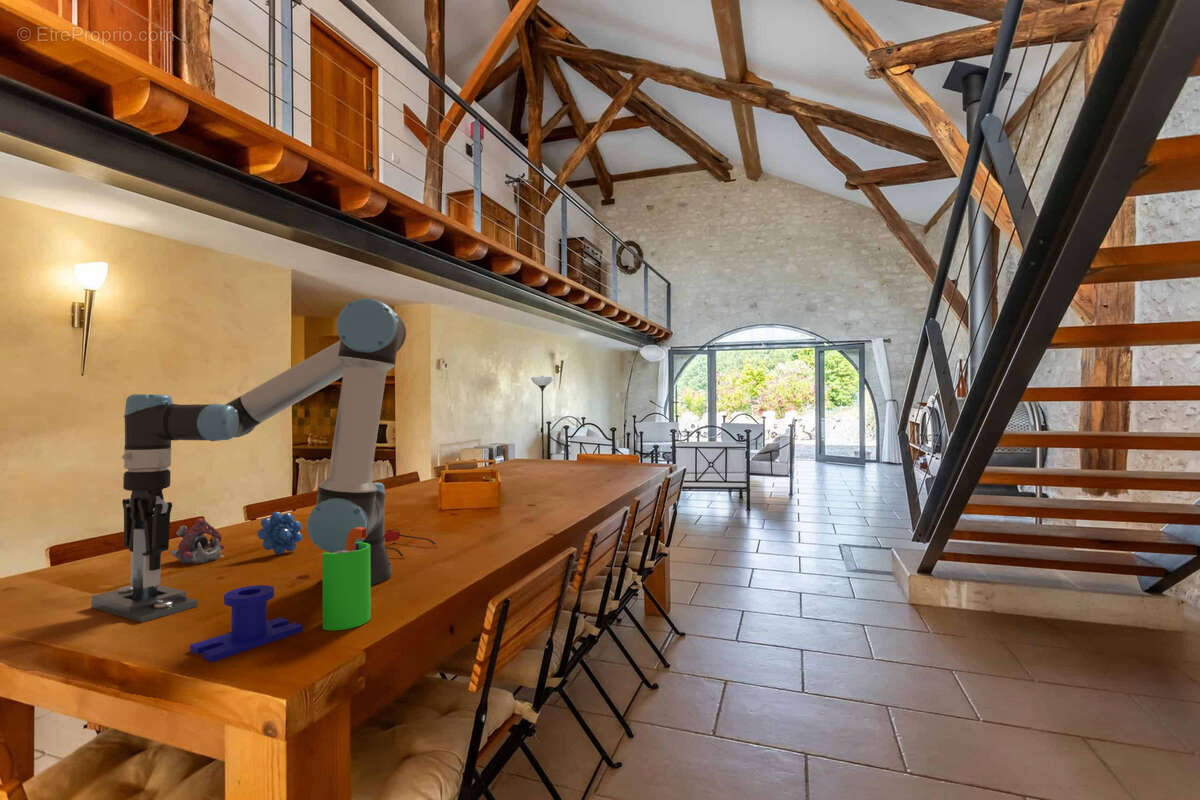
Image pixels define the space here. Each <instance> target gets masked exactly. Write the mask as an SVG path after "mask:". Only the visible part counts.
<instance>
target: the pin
mask: <svg viewBox="0 0 1200 800" xmlns="http://www.w3.org/2000/svg"><path fill="white" fill-rule="evenodd" d="M142 553H146V541H145V530H144V527H140V528H135V529H134V536H133V584H131V585H132V599H133V600H144V599H148V598H152V597H155V596H157V588H158V585H155V586H151V587H147V588H143V560H144V556H143V555H142Z"/></svg>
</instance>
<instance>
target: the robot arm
mask: <svg viewBox="0 0 1200 800" xmlns="http://www.w3.org/2000/svg"><path fill="white" fill-rule="evenodd" d="M336 320H337V321H336V329H337V330H336V331H337V335H338V338H339V340H338V341H336V342H334V343H333V344H331V345H330V346H328V347H326V348H324V349H322V350H320V351H318V352H317V353H315V354H313V355H312V356H310V357H308V358H306V359H304V360H302V361H301V362H299V363H297V364H296V365H293V366H292V367H290V368H288V369H286V370H285V371H283V372H281V373H279V374H278V375H276V376H274V377H272V378H270V379H268V380H267V381H265V382H263V383H261V384H260V385H259V384H258V386H256V387H254V388H252V389H250V390H249V391H247V392H245V393H243V394H242V395H240V396H238V397H236V398H234V399H233V400H231V401H229V402H227V403H224V404H221V403H219V404H218V403H211V404H203V403H202V404H176V403H174V402H173V398H172V396H171V395H169V394H147V393H146V394H140V393H139V394H136V393H135V394H131V395H129V396H128V397H126V399H125V409H124V414H123V418H124V453H123V455H122V457H121V458H122V459H123V468H124V469H125V470H127V471H125V472H124V473H123V480H122V481H123V482H122V483H123V485H122V486H123V487H122V488H123V490H125V491H129V492H130V491H131V495H130V498H123V499H122V508H123V547H124V548H128V551H129V552H130V577H129V578H130V580H129V581H130V582H129V584H130V585H132V584H133V536H134V529H135V528H140V527H144V530H145V541H146V553H142V555H143V556H144V560H143V588H147V587H151V586H155V585H161V576H162V575H161V573H162V571H161V567H162V565H161V564H162V553H163V552H165V551H168V550H169V547H170V526H171V525H170V524H171V512H172V509H173V503H172V501H169V502H165V500H164V493H163V491H164V489H167V488H169V487H170V486H171V473H172V472H171V470H169V469H168V468H170V467H171V465H172V441H208V442H209V441H210V442H216V441H217V442H218V441H228V440H232V439H233V438H240V437H244V436H246V435H248V434H250V433H252V431H254V429H255V428H256V427H257V426H258V425H260V424H262V423H263V422H265V421H266V420H269V419H270V418H271V417H273V416H275V415H277V414H279V413H282V412H284V411H285V410H286V409H287V408H290V407H292V406H293V405H295V404H297V403H298V402H301V401H302V400H304V399H305V398H307V397H309V396H312V395H313V394H314V393H316V392H318V391H320V390H322V389H324V388H326V387H327V386H329V385H331V384H332V383H334V382H335V381H338V380H339V379H341V378H342V380H341V388H340V393H339V400H338V407H337V415H336V422H335V428H334V435H333V442H332V448H331V456H330V462H329V469H328V475H327V478H326V479H324V480H323V481H321V482H320V483H319V485H318V490H317V496H316V501H315V502H316V503H315V506H314V507H313V508H312V510H311V512H310V513H309V516H308V518H307V522H306V530H307V534H308V537H309V539H310V540H311V542H312V543H313V544H314V545H315V546H316V547H317V548H319V549H321V550H322V551H324V552H326V553H333V552H337V551H343V550H345V548H346V542H347V537H348V534H349V532H350V530H352V529H354V528H356V527H364V528H366V538H364V539H356V542H364V543H368V544H370V564H371V586H372V585H376V584H379V583H382V582H385V581H387V580H388V579H390V578H391V577H392V563H391V562H390V560H389V559H390V558H389V555H388V552H387V548H385V547H386V546H385V538H384V534H385V532H384V531H385V516H386V515H385V513H386V512H385V510H386V508H385V507H386V506H385V505H386V504H385V503H386V502H385V501H386V490H385V489H386V488H385V485H384V483H382V482H373V480H372V476H373V475H372V474H373V470H374V468H373V467H374V463H375V462H374V461H375V456H376V455H375V453H376V448H377V447H376V446H377V440H378V433H379V426H380V419H381V412H382V406H383V405H382V404H383V399H384V394H385V393H384V391H385V386H386V385H385V384H386V378H387V373H388V372H389V371H390V370H391V369H393V368H394V367H395V366H396V360H397V353H398V352H399V351H400V350H401V348H402V347H403V345H404V343H405V341H406V337H407V329H406V326H405V323H404V322H403V320H402V318H401V317H400V316H399V315H398V314H397V313H396V312H395V311H394V309H392V307H391V306H389V305H388V304H386V303H385V302H383V301H381V300H379V299H378V300H377V299H374V298H365V297H364V298H358V299H355V300H353V301H350V302H348V303H347V304H346V305H345V306H344V307H343V308H342V309H341V310H340V313H338V316H337V319H336ZM390 576H391V577H390Z"/></svg>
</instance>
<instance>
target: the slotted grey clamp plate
mask: <svg viewBox="0 0 1200 800" xmlns="http://www.w3.org/2000/svg"><path fill="white" fill-rule="evenodd" d="M198 600H199V599H193V598H189V597H187V591H185V590H181V589H177V588H173V587H170V586H165V585H161V584H159V585H158V588H157V596H155V597H152V598H148V599H144V600H133V599H132V584H130V585H126V586H121V587H119V588H118V589H115V590H110V591H107V592H103V593H98V594H94V595H91V608H92V607H93V608H92V609H94V608H96V609H95V610H97V609H99V610H98V611H100V610H102V611H101V612H104V613H107V612H108V613H107V614H111V615H113V616H118V617H120V616H121V617H120V618H123V617H125V618H124V619H127V618H128V619H127V620H130V619H131V620H130V621H133V620H135V621H134V622H136V621H138V622H137V623H140V622H142V623H145V622H144V621H146V622H148V620H149V621H152V620H155V618H156V619H158V617H159V618H162V617H161V616H163V617H165V616H169V615H172V614H173V615H174V614H175V613H179V612H182V611H186V610H189V609H192V608H193V609H194V608H196V607H198V606H199V604H198V602H199V601H198ZM151 619H152V620H151Z"/></svg>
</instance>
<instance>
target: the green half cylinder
mask: <svg viewBox="0 0 1200 800" xmlns="http://www.w3.org/2000/svg"><path fill="white" fill-rule="evenodd" d="M364 538H366V528H364V527H356V528H354V529H352V530H350V532H349V534H348V537H347V542H346V548H345V550H343V551H337V552H333V553H330V552H327V551H324V552H322V559H321V560H322V630H325V631H343V630H349V629H350V630H351V629H353V628H357V627H360V626H362V625H365V624H366V623H368V622H369V621H370V620H371V618H372V617H371V615H372V614H371V613H372V611H371V610H372V609H371V608H372V607H371V606H372V605H371V603H372V602H371V598H372V597H371V595H372V594H371V593H372V592H371V591H372V590H371V589H372V588H371V587H372V585H371V564H370V544H368V543H364V542H356V539H364Z"/></svg>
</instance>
